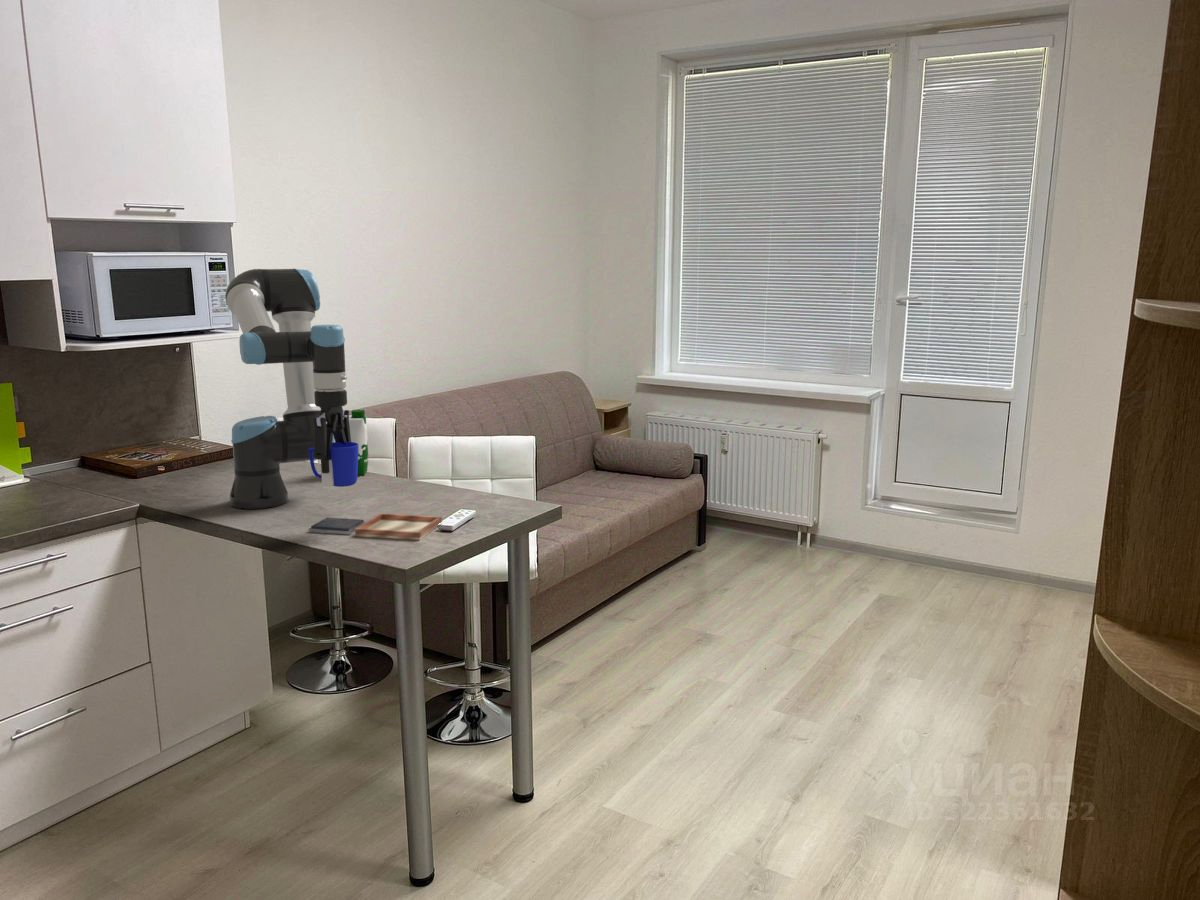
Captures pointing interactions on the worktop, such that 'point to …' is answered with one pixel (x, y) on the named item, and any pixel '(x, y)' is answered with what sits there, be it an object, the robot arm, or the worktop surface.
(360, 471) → the milk carton
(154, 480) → the worktop surface
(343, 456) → the mug
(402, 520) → the sand box
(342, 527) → the ink pad
